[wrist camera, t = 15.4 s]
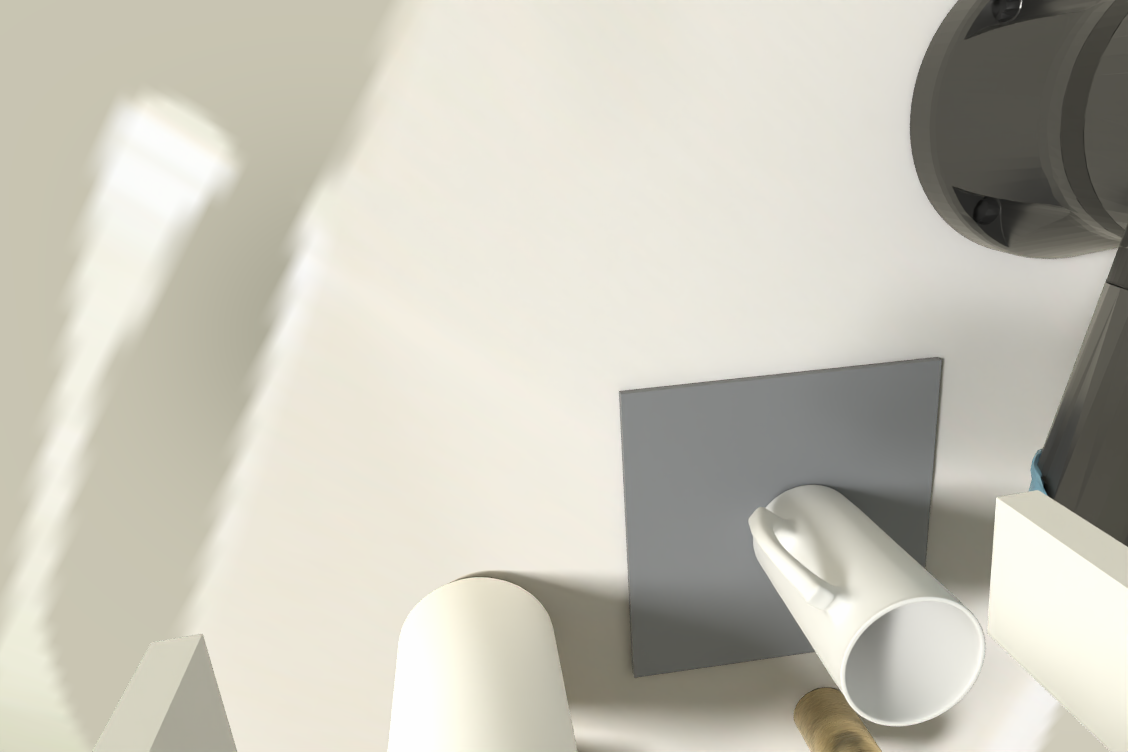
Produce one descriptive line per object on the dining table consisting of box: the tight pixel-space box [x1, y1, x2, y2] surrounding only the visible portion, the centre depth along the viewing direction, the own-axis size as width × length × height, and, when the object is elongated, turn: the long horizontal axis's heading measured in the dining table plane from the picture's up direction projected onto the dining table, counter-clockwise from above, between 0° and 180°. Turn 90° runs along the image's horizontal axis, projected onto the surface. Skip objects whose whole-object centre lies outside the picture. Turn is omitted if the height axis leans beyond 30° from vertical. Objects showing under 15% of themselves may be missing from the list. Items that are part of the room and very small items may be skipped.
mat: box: [619, 357, 942, 677], centre depth 48 cm, size 18×18×1 cm
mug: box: [748, 485, 985, 726], centre depth 41 cm, size 10×7×12 cm, turn 54°
